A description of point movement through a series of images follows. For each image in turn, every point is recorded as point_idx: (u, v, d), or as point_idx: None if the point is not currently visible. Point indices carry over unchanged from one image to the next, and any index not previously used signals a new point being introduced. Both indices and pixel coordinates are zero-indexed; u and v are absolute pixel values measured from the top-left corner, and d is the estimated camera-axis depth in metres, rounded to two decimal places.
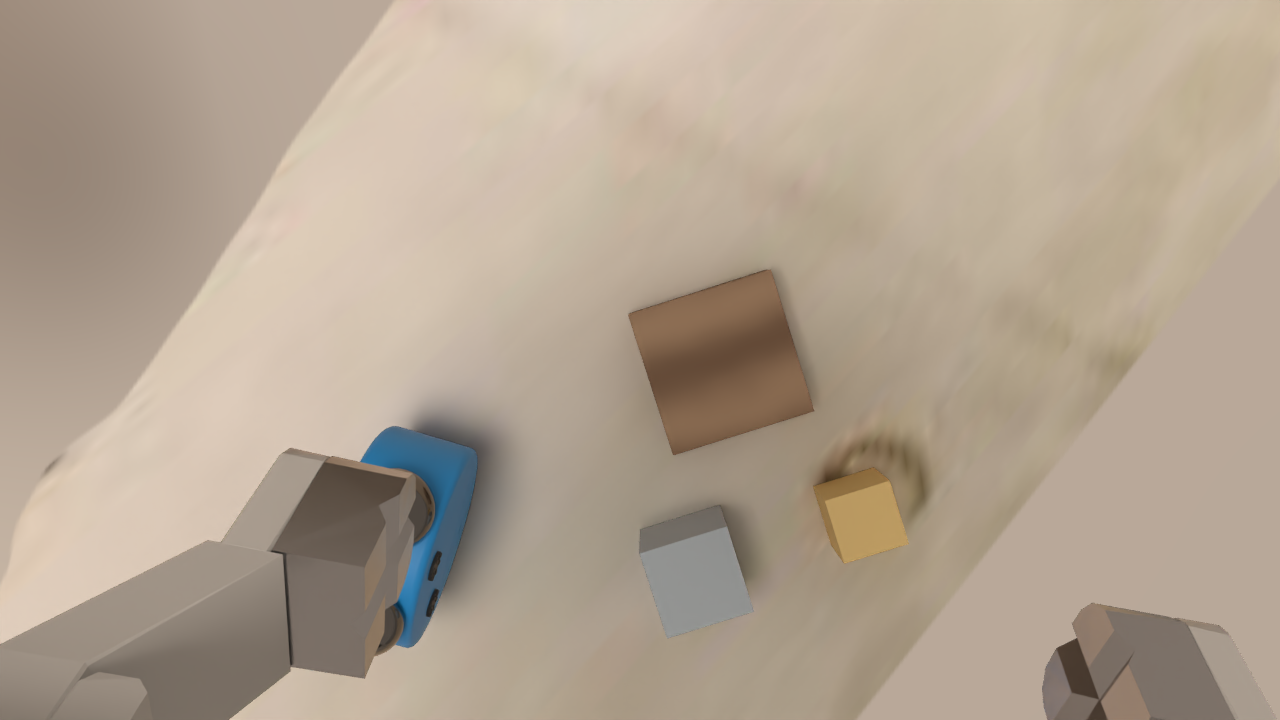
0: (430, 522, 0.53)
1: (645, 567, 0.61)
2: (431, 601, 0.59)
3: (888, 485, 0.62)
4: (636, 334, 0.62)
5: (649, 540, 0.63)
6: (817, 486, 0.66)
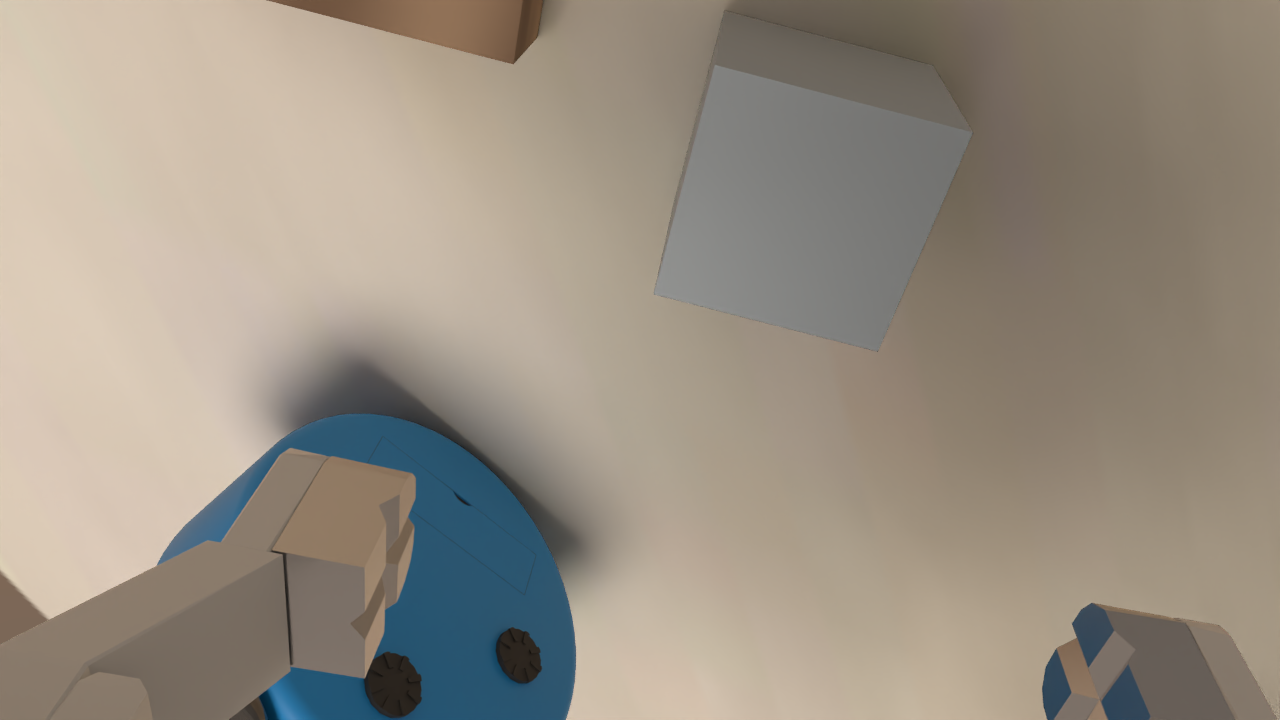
0: None
1: (692, 300, 0.24)
2: (504, 667, 0.30)
3: None
4: None
5: (668, 232, 0.26)
6: None
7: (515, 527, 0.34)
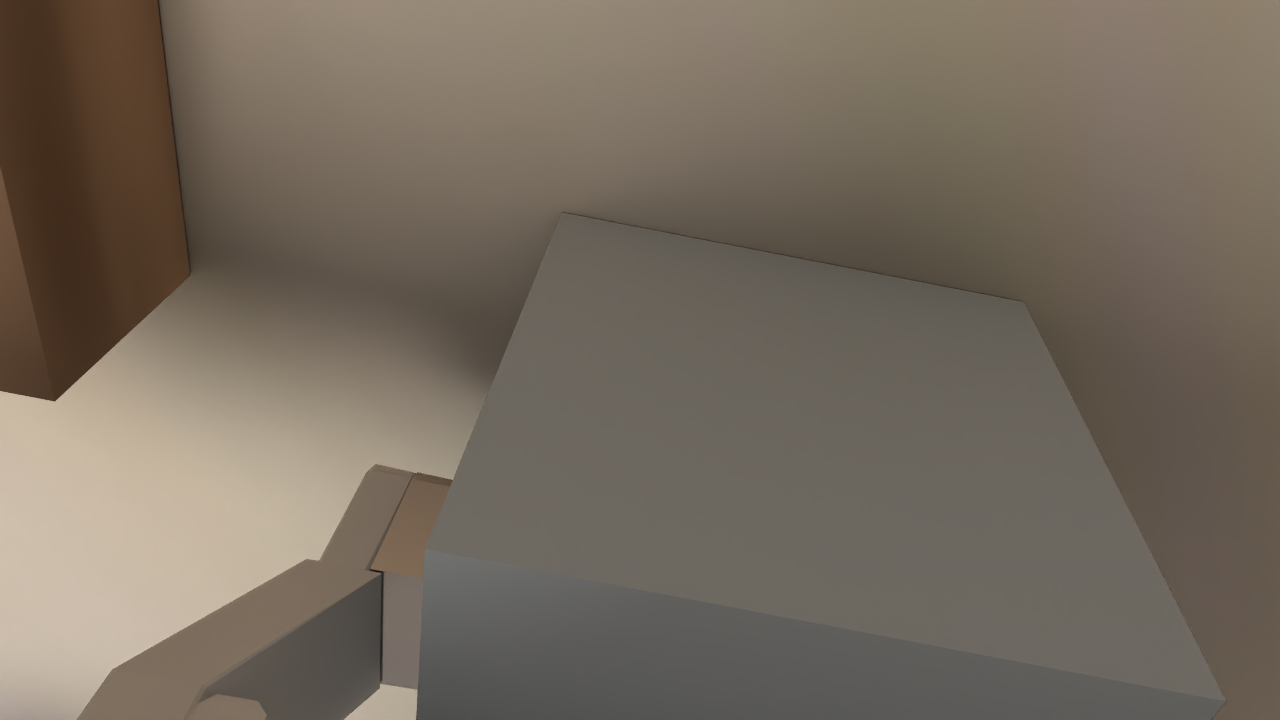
0: None
1: None
2: None
3: None
4: None
5: None
6: None
7: None
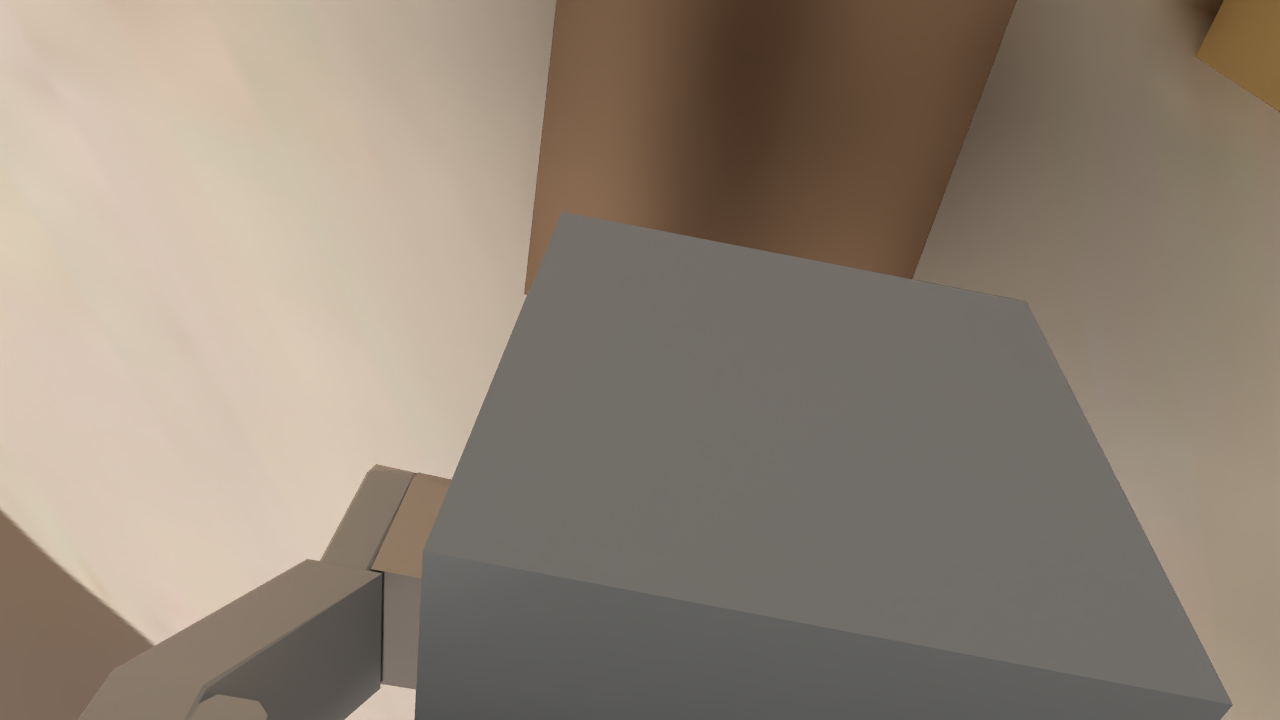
0: None
1: None
2: None
3: None
4: None
5: None
6: (1207, 50, 0.23)
7: None
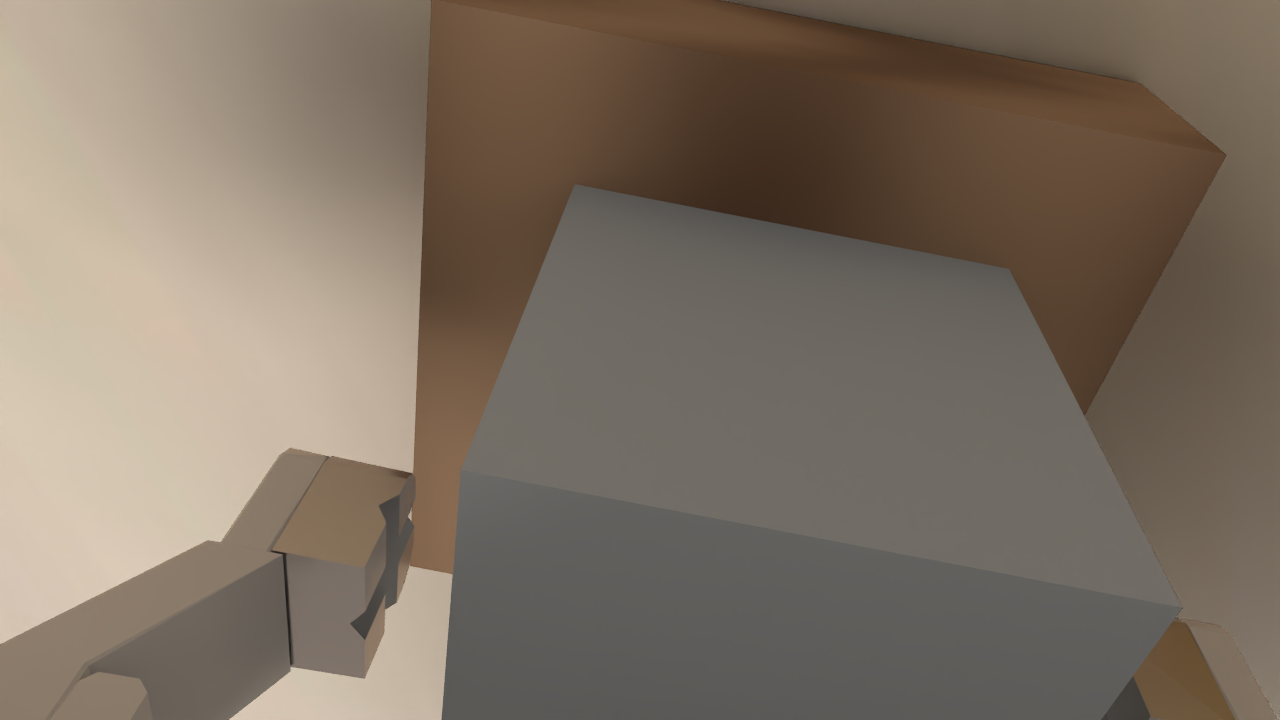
0: None
1: None
2: None
3: None
4: None
5: None
6: None
7: None
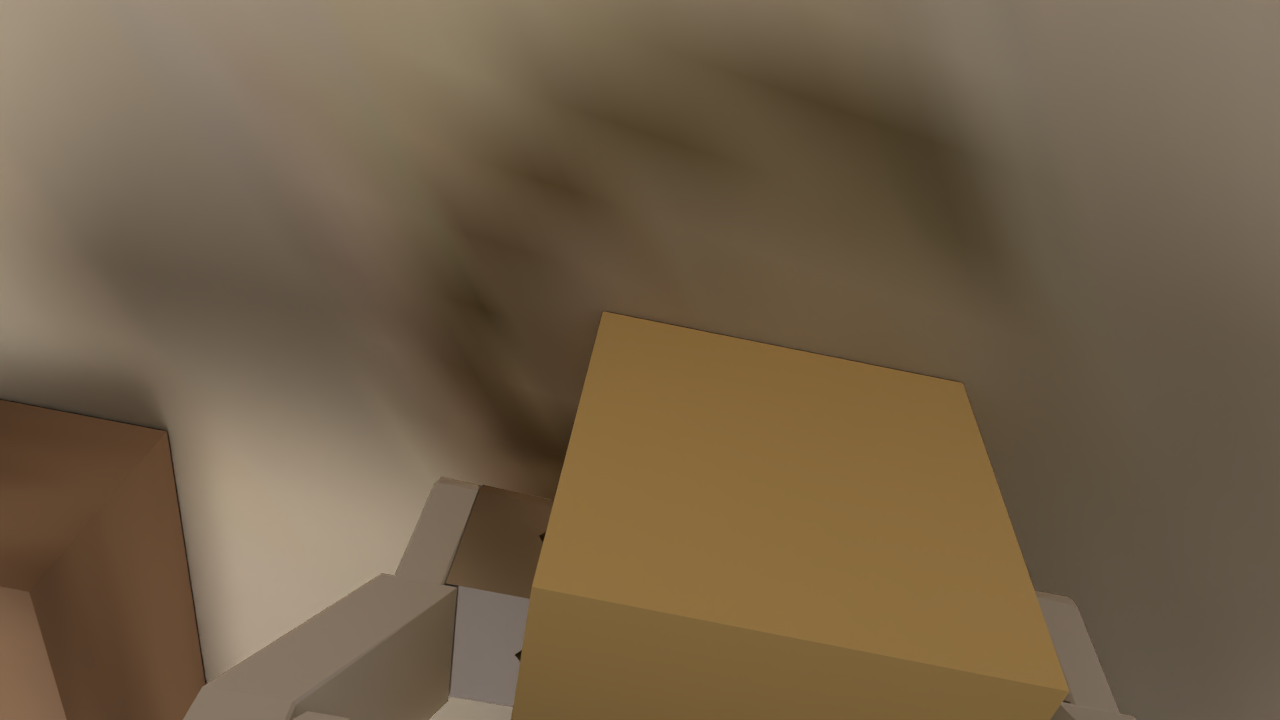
0: None
1: None
2: None
3: (561, 610, 0.08)
4: None
5: None
6: None
7: None
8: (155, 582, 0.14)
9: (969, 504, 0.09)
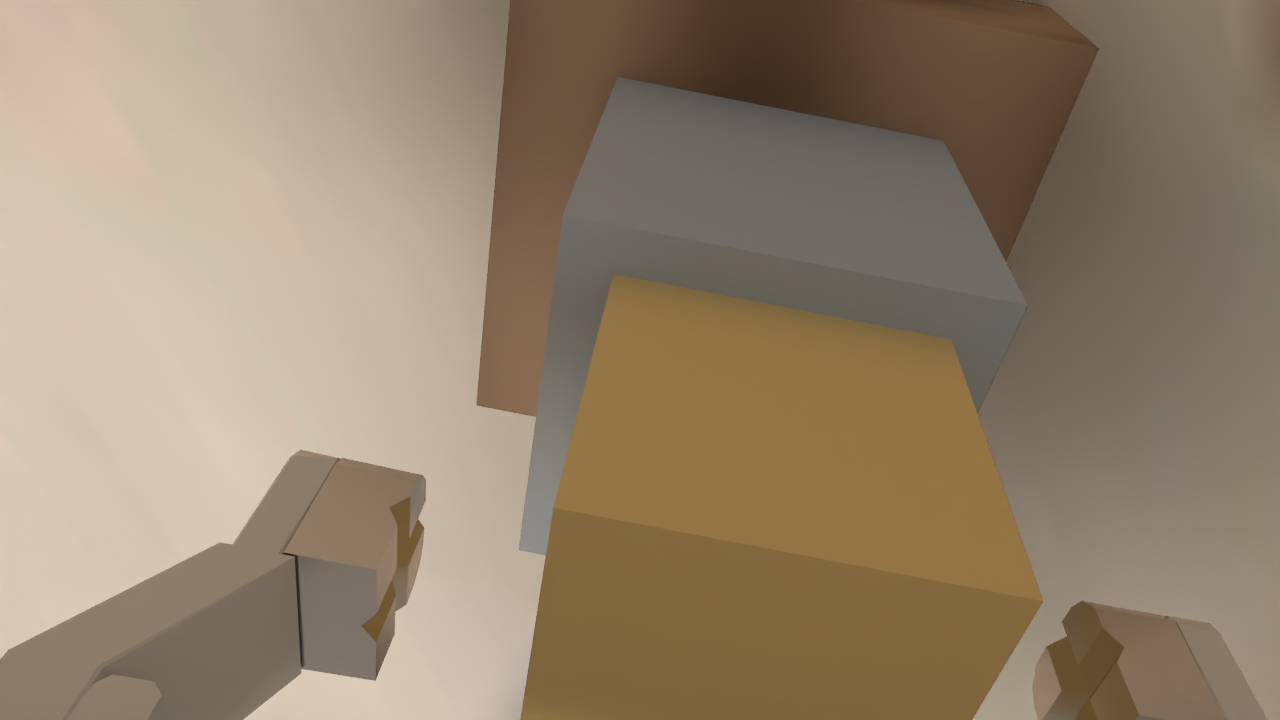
0: None
1: None
2: None
3: (580, 530, 0.08)
4: None
5: None
6: None
7: None
8: None
9: (956, 443, 0.10)
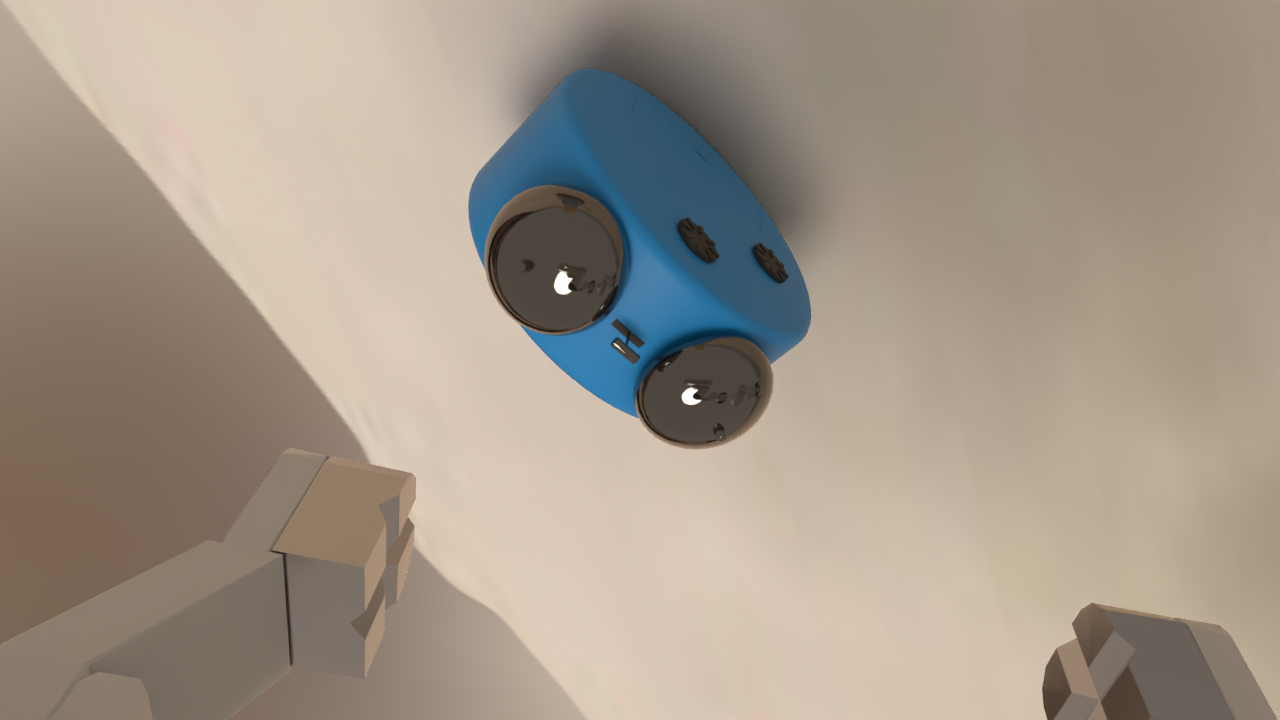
0: (601, 218, 0.28)
1: None
2: (763, 265, 0.35)
3: None
4: None
5: None
6: None
7: (740, 188, 0.39)
8: None
9: None
